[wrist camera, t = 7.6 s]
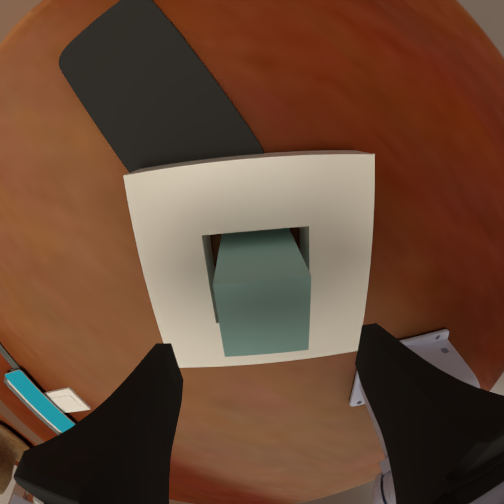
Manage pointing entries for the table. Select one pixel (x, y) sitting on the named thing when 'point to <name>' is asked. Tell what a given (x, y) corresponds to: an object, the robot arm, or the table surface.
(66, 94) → the table surface
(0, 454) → the stone cup
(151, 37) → the phone
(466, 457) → the robot arm
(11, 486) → the gable box
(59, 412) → the teal sliding drawer box
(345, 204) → the socket block
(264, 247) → the peg
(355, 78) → the table surface
